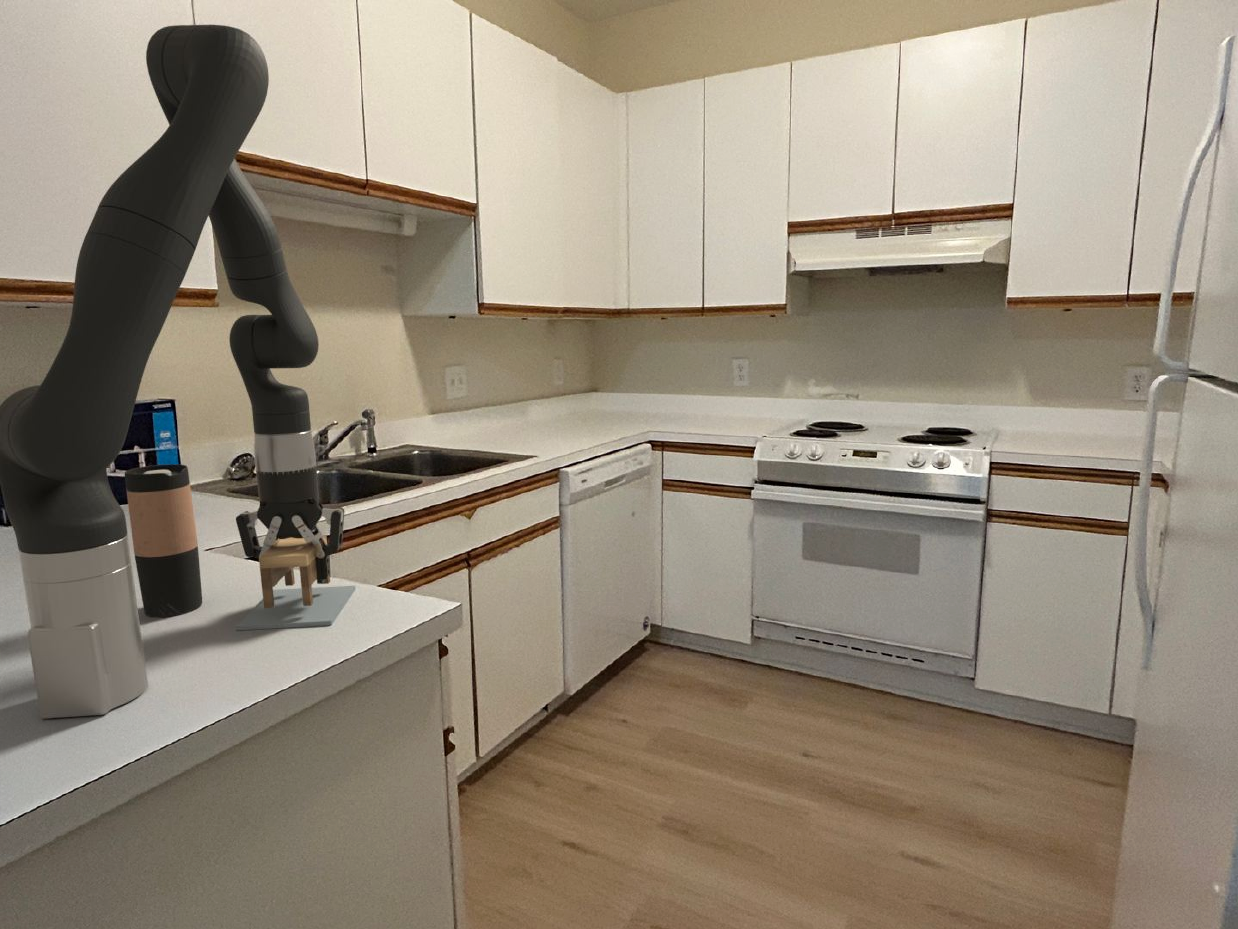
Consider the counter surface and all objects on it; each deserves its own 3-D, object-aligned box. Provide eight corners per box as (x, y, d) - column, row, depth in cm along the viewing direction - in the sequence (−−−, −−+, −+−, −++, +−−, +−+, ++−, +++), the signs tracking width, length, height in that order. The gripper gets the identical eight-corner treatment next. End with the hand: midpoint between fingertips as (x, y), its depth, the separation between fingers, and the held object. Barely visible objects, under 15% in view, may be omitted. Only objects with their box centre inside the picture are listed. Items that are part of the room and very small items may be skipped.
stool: (287, 583, 111) (283, 537, 109) (330, 581, 111) (326, 535, 110) (264, 608, 101) (258, 557, 100) (311, 605, 101) (306, 555, 100)
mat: (331, 625, 100) (331, 620, 100) (236, 630, 99) (235, 626, 99) (355, 589, 114) (355, 585, 114) (272, 593, 113) (271, 589, 113)
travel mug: (148, 602, 110) (130, 466, 106) (208, 595, 112) (192, 462, 109) (136, 621, 103) (116, 476, 99) (200, 613, 105) (183, 471, 102)
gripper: (347, 458, 107) (356, 572, 110) (240, 461, 106) (253, 577, 109) (334, 467, 100) (344, 590, 103) (219, 471, 98) (233, 595, 101)
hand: (297, 583), depth 106 cm, fingers closed on stool, 6 cm apart
